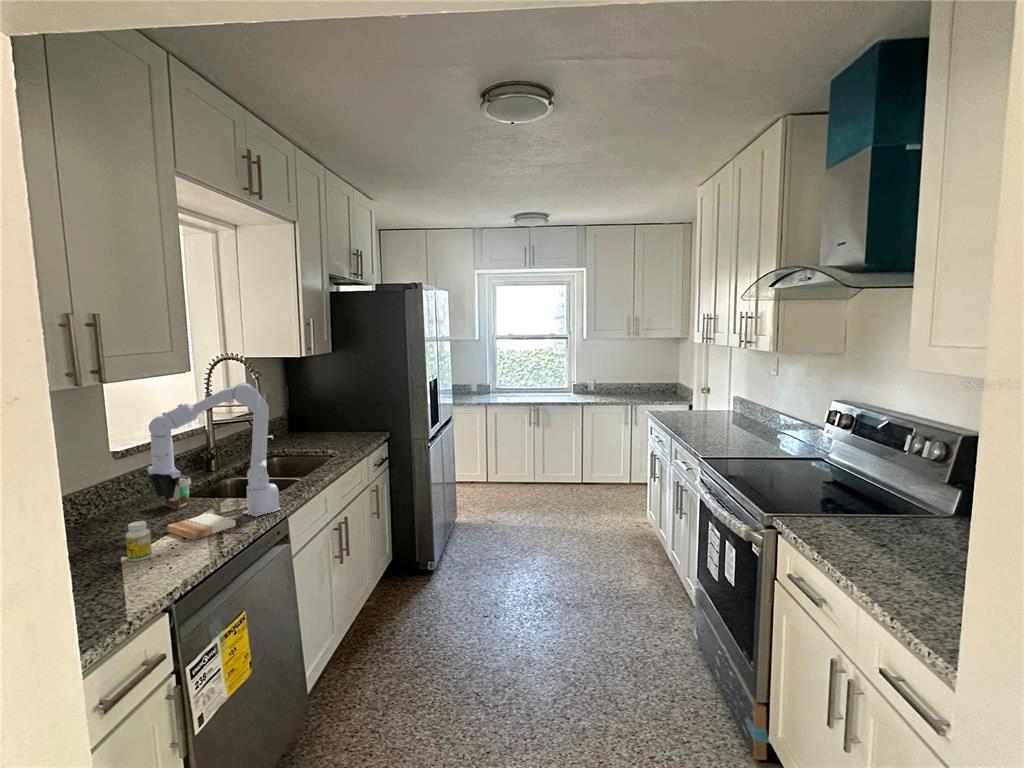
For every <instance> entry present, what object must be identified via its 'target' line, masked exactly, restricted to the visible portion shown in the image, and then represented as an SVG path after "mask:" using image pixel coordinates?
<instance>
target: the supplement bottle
mask: <svg viewBox="0 0 1024 768" xmlns="http://www.w3.org/2000/svg"><path fill="white" fill-rule="evenodd" d="M127 529H128V532H127V533H126V534H125V541H126V542H125V544H126V554H127V560H128V561H129V562H139V561H144V560H147V559H149V558H151V556H152V554H153V553H152V540H151V530H150V529H149V528H147V522H146V521H145V520H139V521H133V522H130V523H128V524H127Z"/></svg>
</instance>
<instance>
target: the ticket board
mask: <svg viewBox="0 0 1024 768" xmlns="http://www.w3.org/2000/svg"><path fill="white" fill-rule="evenodd" d="M184 520H185V521H189V522H192V523H196V524H199V525H202V526H206V527H209V528H211V535H214V534H213V533H215V534H217V533H216V532H218V533H220V532H219V531H221V532H223V531H222V530H224V531H226V530H225V529H227V528H230V529H232V528H231V527H233V528H235V527H234V526H237V524H236V519H232V518H228V517H224V516H221V515H217V514H213V513H205V514H201V515H198V516H194V517H192V518H188V519H184ZM227 530H228V529H227Z"/></svg>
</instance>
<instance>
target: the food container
mask: <svg viewBox="0 0 1024 768" xmlns="http://www.w3.org/2000/svg"><path fill="white" fill-rule="evenodd" d="M191 484H192V481H191V478H190V476H188V475H184V474H183V475H182V474H180V479H179V480H178V482H177V485H176V488H175V492H174V496H173V498H170V499H165V497H164V496H163V499H164V505H165V506H166V507H169V506H170V508H172V507H173V509H176V508H177V509H176V510H179V509H180V510H183V509H185V508H184V507H186V506H187V505H188V504H190V485H191ZM188 506H189V505H188ZM188 506H187V507H188ZM187 507H186V508H187ZM182 508H183V509H182Z"/></svg>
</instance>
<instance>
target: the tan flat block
mask: <svg viewBox="0 0 1024 768" xmlns="http://www.w3.org/2000/svg"><path fill="white" fill-rule="evenodd" d="M185 520H186V519H184V520H180V521H178V522H174V523H171V524H167V532H168V533H171V534H174V535H177V536H181V537H184V538H186V539H187V538H188V539H191V540H193V541H195V540H200V539H202V538H206V537H208V536H212V534H211V528H209V527H206V526H202V525H199V524H196V523H192V522H189V521H185Z"/></svg>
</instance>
